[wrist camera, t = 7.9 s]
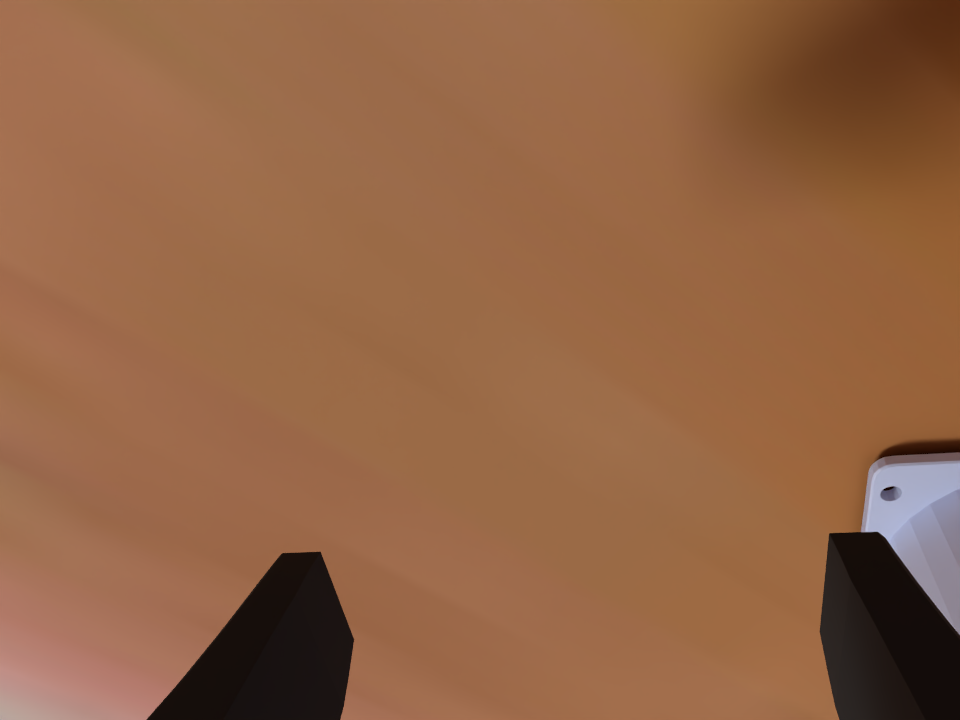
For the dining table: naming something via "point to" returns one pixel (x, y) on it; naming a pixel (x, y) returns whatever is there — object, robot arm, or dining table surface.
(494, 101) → the dining table surface
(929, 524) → the robot arm
